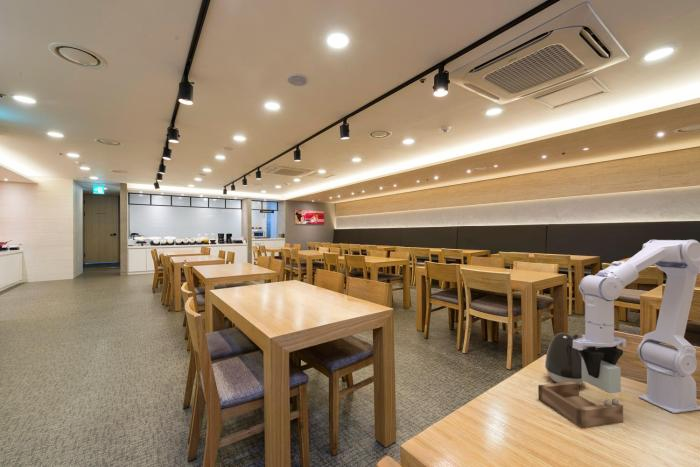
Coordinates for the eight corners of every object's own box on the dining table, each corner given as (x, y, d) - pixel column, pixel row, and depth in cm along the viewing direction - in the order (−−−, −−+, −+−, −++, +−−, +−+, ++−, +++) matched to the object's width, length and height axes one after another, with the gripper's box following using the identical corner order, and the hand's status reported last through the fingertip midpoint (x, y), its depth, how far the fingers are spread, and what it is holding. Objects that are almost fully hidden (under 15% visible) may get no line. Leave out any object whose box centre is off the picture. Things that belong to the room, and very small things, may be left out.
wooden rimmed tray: (575, 395, 83) (574, 377, 83) (623, 422, 71) (623, 401, 71) (538, 399, 81) (538, 381, 81) (582, 428, 69) (581, 407, 69)
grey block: (594, 378, 80) (594, 356, 80) (623, 391, 73) (622, 367, 73) (581, 380, 79) (581, 357, 79) (609, 393, 72) (609, 368, 72)
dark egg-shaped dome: (595, 388, 87) (594, 336, 88) (568, 393, 85) (567, 340, 85) (562, 373, 97) (562, 326, 97) (537, 377, 94) (536, 329, 95)
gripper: (605, 317, 82) (606, 366, 81) (561, 319, 79) (562, 371, 78) (635, 324, 75) (635, 378, 74) (587, 327, 72) (588, 383, 72)
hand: (599, 375), depth 76 cm, fingers closed on grey block, 3 cm apart
